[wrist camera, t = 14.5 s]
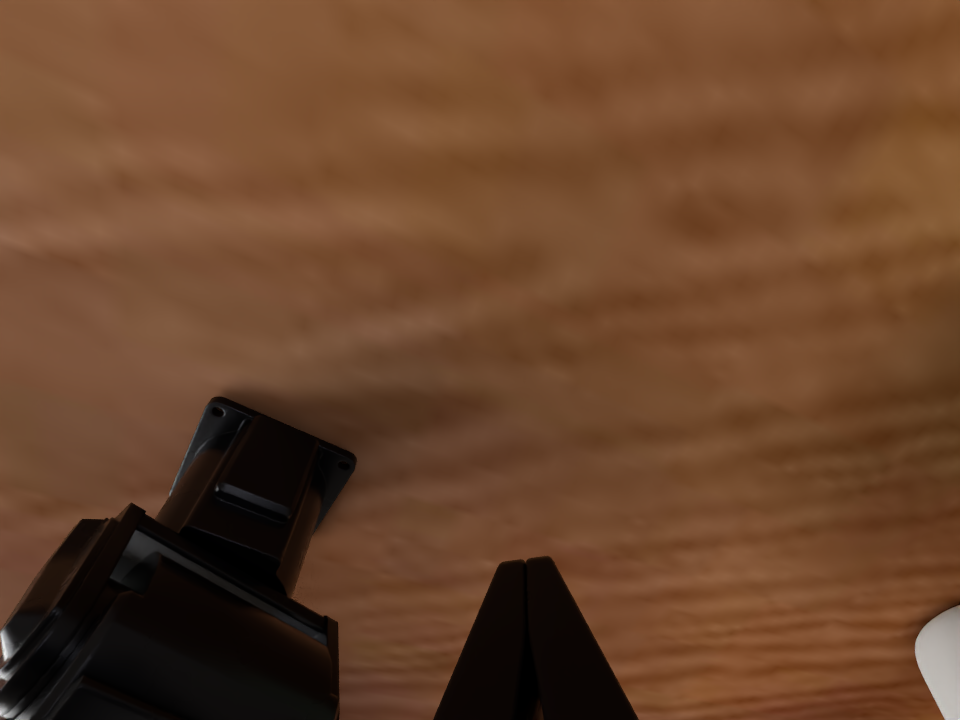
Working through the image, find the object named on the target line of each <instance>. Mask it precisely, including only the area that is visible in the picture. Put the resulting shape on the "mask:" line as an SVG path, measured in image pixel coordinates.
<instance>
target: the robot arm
mask: <svg viewBox="0 0 960 720" xmlns="http://www.w3.org/2000/svg"><path fill="white" fill-rule="evenodd" d="M216 407H218V408H221V409H222V410H223V411H224V412H223V411H219V410H218V409H217V408H216ZM341 461H344V462H347V463H348V464H344V463H342V462H341ZM356 462H357V459H356V457H355V455H354V454H352V453H351V452H349V451H347V450H344V449H342V448H340V447H337V446H335V445H333V444H330V443H328V442H326V441H324V440H321V439H319V438H317V437H314V436H312V435H310V434H307V433H305V432H303V431H300V430H298V429H296V428H294V427H291V426H289V425H287V424H284V423H282V422H280V421H277V420H275V419H273V418H270V417H268V416H266V415H264V414H261V413H259V412H257V411H254V410H252V409H250V408H247V407H245V406H243V405H240V404H238V403H236V402H234V401H231V400H229V399H227V398H224V397H214V398H212V399H211V400H210V402H209V403H208V405H207V406H206V408H205V410H204V412H203V415H202V417H201V419H200V422H199V424H198V427H197V429H196V431H195V434H194V436H193V438H192V441H191V443H190V445H189V448H188V450H187V453H186V455H185V457H184V460H183V462H182V464H181V467H180V469H179V472H178V474H177V476H176V479H175V481H174V483H173V486H172V488H171V491H170V496H169V498H168V500H167V501H166V503H165V504H164V506H163V507H162V509H161V510H160V512H159V513H158V515H157V517H156V518H155V519H153V518H151V517H149V516H148V515H146V514H145V512H146V511H145V510H143V509H142V508H140V507H138V506H136V505H135V504H133V503H130V504H129V505H128V506H127V507H126V508H125V509H124V510H123V511H122V512H121V513H120V514H119V515H118V516H117V517H116V518H115V519H114V518H113V517H112V518H110V519H108V518H105V519H104V520H101V519H82V520H81V521H80V522H79V523H78V524H77V525H76V526H75V527H74V528H73V529H72V530H71V532H70V533H69V534H68V535H67V537H66V538H65V539H64V541H63V542H62V543H61V544H60V546H59V547H58V548H57V549H56V551H55V552H54V553H53V555H52V556H51V557H50V558H49V560H48V561H47V562H46V564H45V565H44V566H43V568H42V569H41V570H40V572H39V573H38V574H37V576H36V577H35V578H34V580H33V581H32V583H31V584H30V586H29V587H28V589H27V590H26V592H25V594H24V595H23V597H22V598H21V600H20V601H19V603H18V604H17V606H16V607H15V609H14V611H13V612H12V614H11V615H10V617H9V618H8V620H7V621H6V623H5V624H4V626H3V627H2V629H1V631H0V637H1V645H2V656H1V658H0V720H339V648H338V622H337V621H335V620H333V619H331V618H330V617H328V616H321V615H319V614H317V613H316V612H314V611H312V610H310V609H309V608H307V607H305V606H304V605H302V604H300V603H298V602H297V601H295V600H293V599H291V598H292V595H293V592H294V589H295V586H296V582H297V579H298V576H299V573H300V570H301V567H302V564H303V561H304V558H305V555H306V552H307V549H308V546H309V543H310V540H311V537H312V535H313V534H314V532H315V531H316V529H317V527H318V526H319V524H320V523H321V521H322V520H323V518H324V517H325V515H326V513H327V512H328V510H329V509H330V507H331V506H332V504H333V503H334V501H335V499H336V498H337V496H338V495H339V493H340V492H341V490H342V488H343V487H344V485H345V484H346V482H347V481H348V479H349V478H350V476H351V474H352V473H353V471H354V469H355V466H356ZM433 720H639V719H638V717H637V715H636V714H635V712H634V710H633V708H632V706H631V704H630V702H629V701H628V699H627V697H626V695H625V693H624V691H623V689H622V688H621V686H620V684H619V682H618V680H617V678H616V676H615V675H614V673H613V671H612V669H611V667H610V665H609V663H608V662H607V660H606V658H605V656H604V654H603V652H602V650H601V649H600V647H599V645H598V643H597V641H596V639H595V637H594V636H593V634H592V632H591V630H590V628H589V626H588V624H587V623H586V621H585V619H584V617H583V615H582V613H581V611H580V610H579V608H578V606H577V604H576V602H575V600H574V598H573V597H572V595H571V593H570V591H569V589H568V587H567V585H566V584H565V582H564V580H563V578H562V576H561V574H560V572H559V571H558V569H557V567H556V565H555V563H554V561H553V560H552V558H551V557H549V556H542V557H535V558H529V559H528V560H527V561H526V562H525V561H524V560H512V561H505V562H502V563H500V564H499V566H498V568H497V570H496V572H495V574H494V577H493V579H492V582H491V584H490V586H489V589H488V591H487V593H486V596H485V598H484V601H483V603H482V605H481V608H480V610H479V612H478V615H477V617H476V619H475V622H474V624H473V627H472V629H471V631H470V634H469V636H468V638H467V641H466V643H465V645H464V648H463V650H462V653H461V655H460V657H459V660H458V662H457V664H456V667H455V669H454V672H453V674H452V676H451V679H450V681H449V683H448V686H447V688H446V690H445V693H444V695H443V698H442V700H441V702H440V705H439V707H438V709H437V712H436V714H435V717H434V719H433Z"/></svg>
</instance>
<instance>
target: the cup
mask: <svg viewBox="0 0 960 720" xmlns="http://www.w3.org/2000/svg"><path fill="white" fill-rule="evenodd" d="M915 655H916V659H917V663H918V666H919V668H920V671H921V673H922V675H923V677H924V679H925V681H926V683H927V685H928V687H929V689H930V691H931V693H932V695H933V697H934V699H935V701H936V703H937V705H938V707H939V709H940V711H941V713H942V715H943V716H944V718H945V720H960V605H958V606H956V607H953V608H950V609H948V610H946V611H944V612H942V613H941V614H939V615H938V616H936V617H935V618H933V619H932V620H931V621H930V622H928V623H927V624H926V625H925V626H924V627H923V629H922V630H921V631H920V633H919V635H918V637H917V639H916V643H915Z"/></svg>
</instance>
